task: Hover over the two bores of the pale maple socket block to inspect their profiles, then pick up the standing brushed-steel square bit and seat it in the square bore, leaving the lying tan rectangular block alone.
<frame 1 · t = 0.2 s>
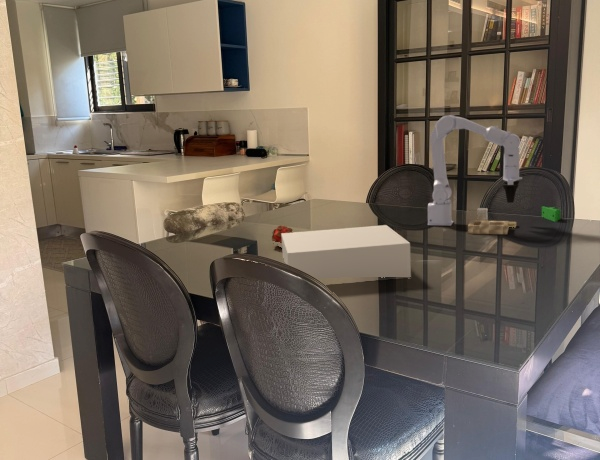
hand: (510, 200, 221), 10 cm above the table, fingers open, 7 cm apart
square bit: (482, 226, 225), on the table
box: (342, 272, 175), on the table
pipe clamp: (552, 219, 231), on the table
socket block: (488, 231, 216), on the table
dragon fruit: (284, 247, 212), on the table
tan rectangular block: (507, 227, 222), on the table
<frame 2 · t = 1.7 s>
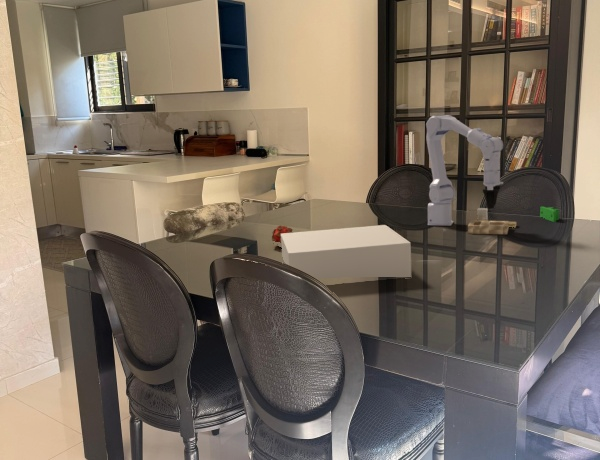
hand: (491, 206, 214), 10 cm above the table, fingers open, 7 cm apart
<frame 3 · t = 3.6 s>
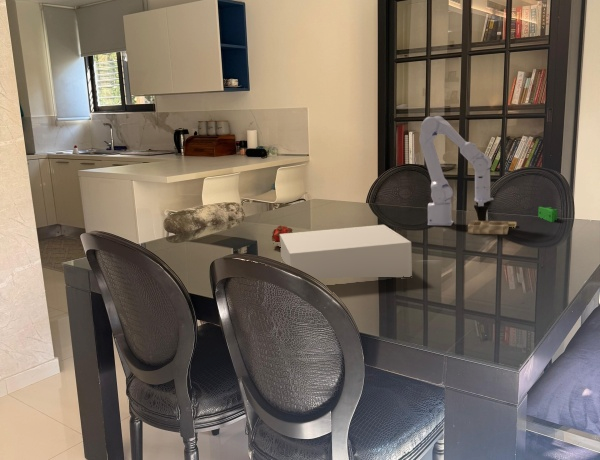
hand: (482, 221, 225), 2 cm above the table, fingers open, 6 cm apart
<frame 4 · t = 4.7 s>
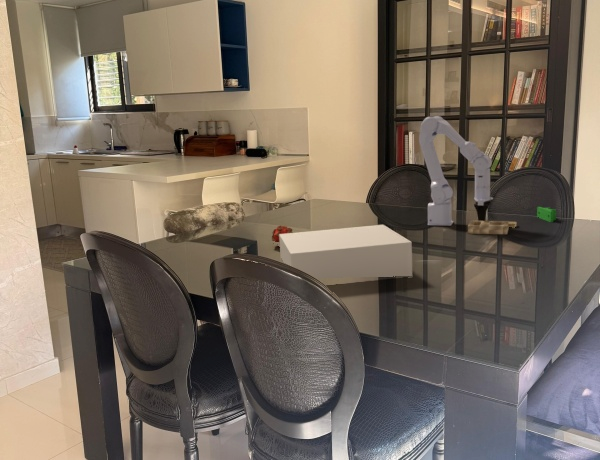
hand: (482, 220, 225), 2 cm above the table, fingers closed on square bit, 4 cm apart
square bit: (482, 225, 225), on the table, touching gripper
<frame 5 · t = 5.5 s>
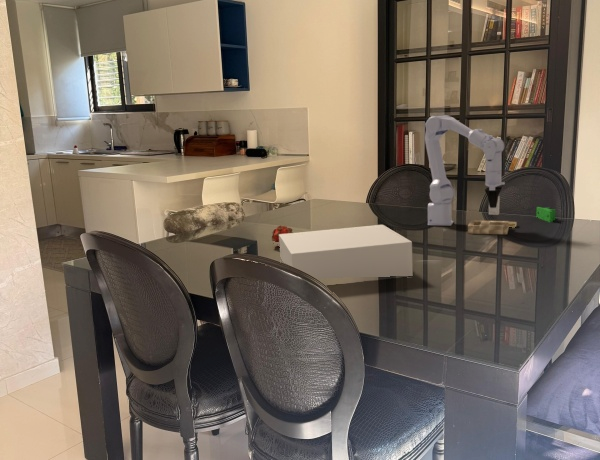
hand: (493, 206, 216), 9 cm above the table, fingers closed on square bit, 4 cm apart
square bit: (493, 213, 216), point 6 cm above the table, touching gripper
when the fingers open (4 cm above the table, at t = 7.0 s): square bit stays where it is, on the table.
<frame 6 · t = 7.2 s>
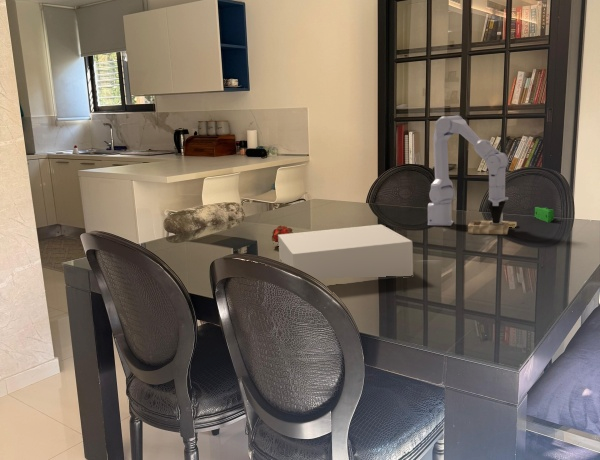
hand: (496, 221, 214), 4 cm above the table, fingers open, 5 cm apart
square bit: (496, 231, 215), on the table
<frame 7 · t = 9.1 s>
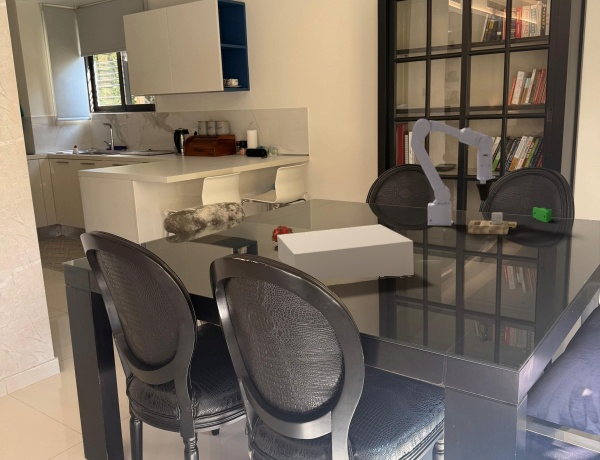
hand: (484, 199, 229), 10 cm above the table, fingers open, 7 cm apart
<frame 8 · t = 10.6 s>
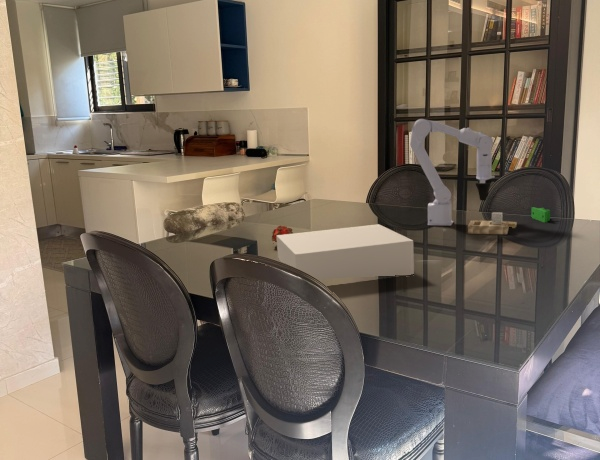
hand: (483, 198, 230), 10 cm above the table, fingers open, 7 cm apart
at the end: square bit 0.1 cm from the target spot on the socket block, point 0.0 cm above the socket block's base; square bit tilted 0°; the gripper is holding nothing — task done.
